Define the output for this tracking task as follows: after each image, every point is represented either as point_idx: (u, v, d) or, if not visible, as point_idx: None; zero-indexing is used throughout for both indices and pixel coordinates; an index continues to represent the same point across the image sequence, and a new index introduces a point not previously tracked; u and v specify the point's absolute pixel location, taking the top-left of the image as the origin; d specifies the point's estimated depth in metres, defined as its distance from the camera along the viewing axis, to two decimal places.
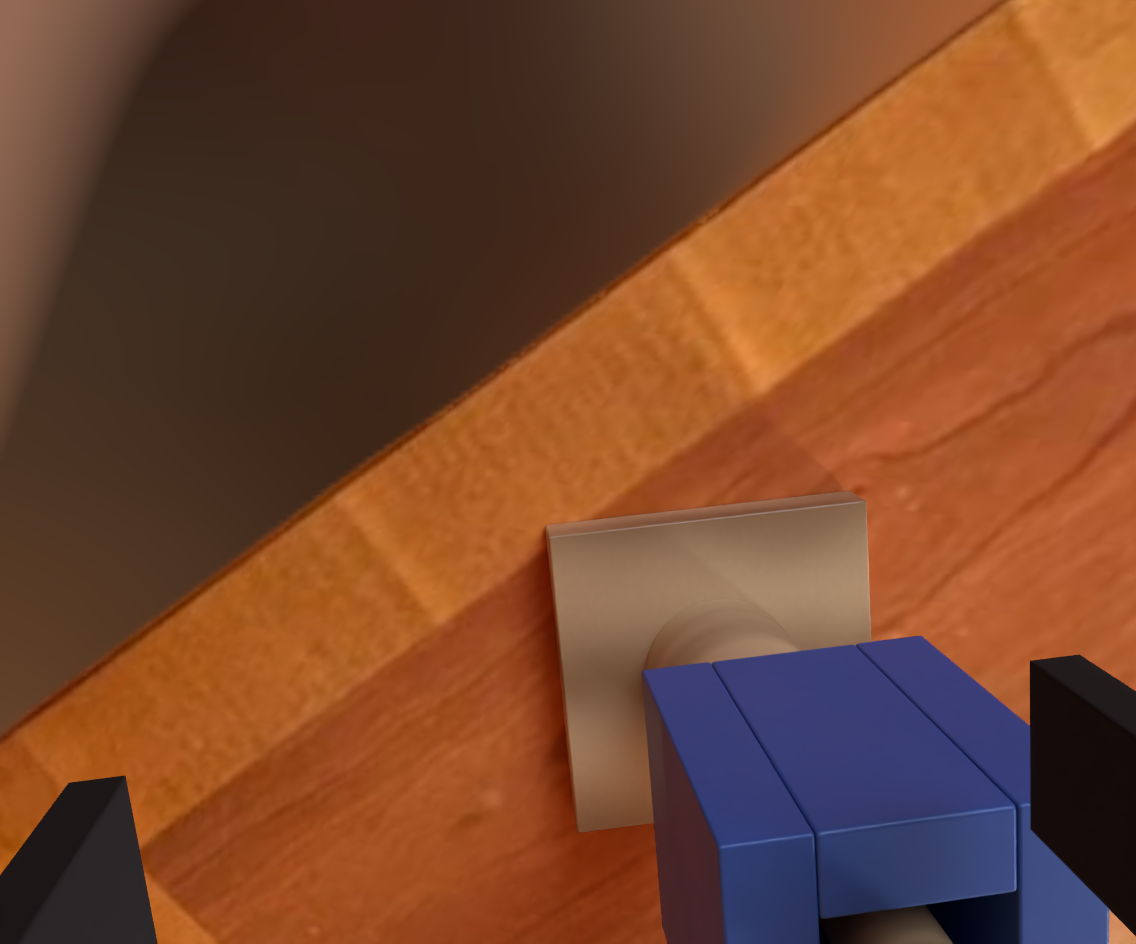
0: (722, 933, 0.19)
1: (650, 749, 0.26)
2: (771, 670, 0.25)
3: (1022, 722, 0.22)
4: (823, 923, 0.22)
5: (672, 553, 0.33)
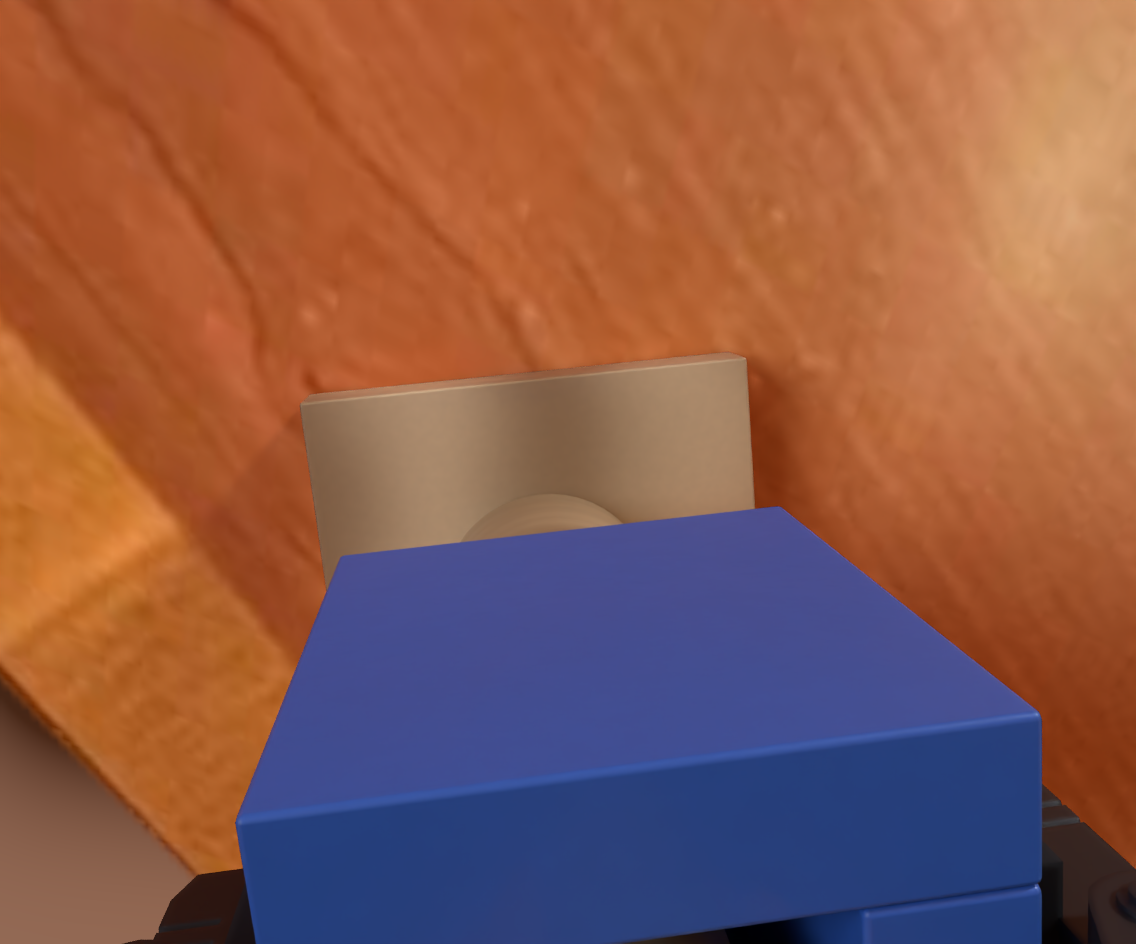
0: None
1: None
2: None
3: None
4: None
5: None
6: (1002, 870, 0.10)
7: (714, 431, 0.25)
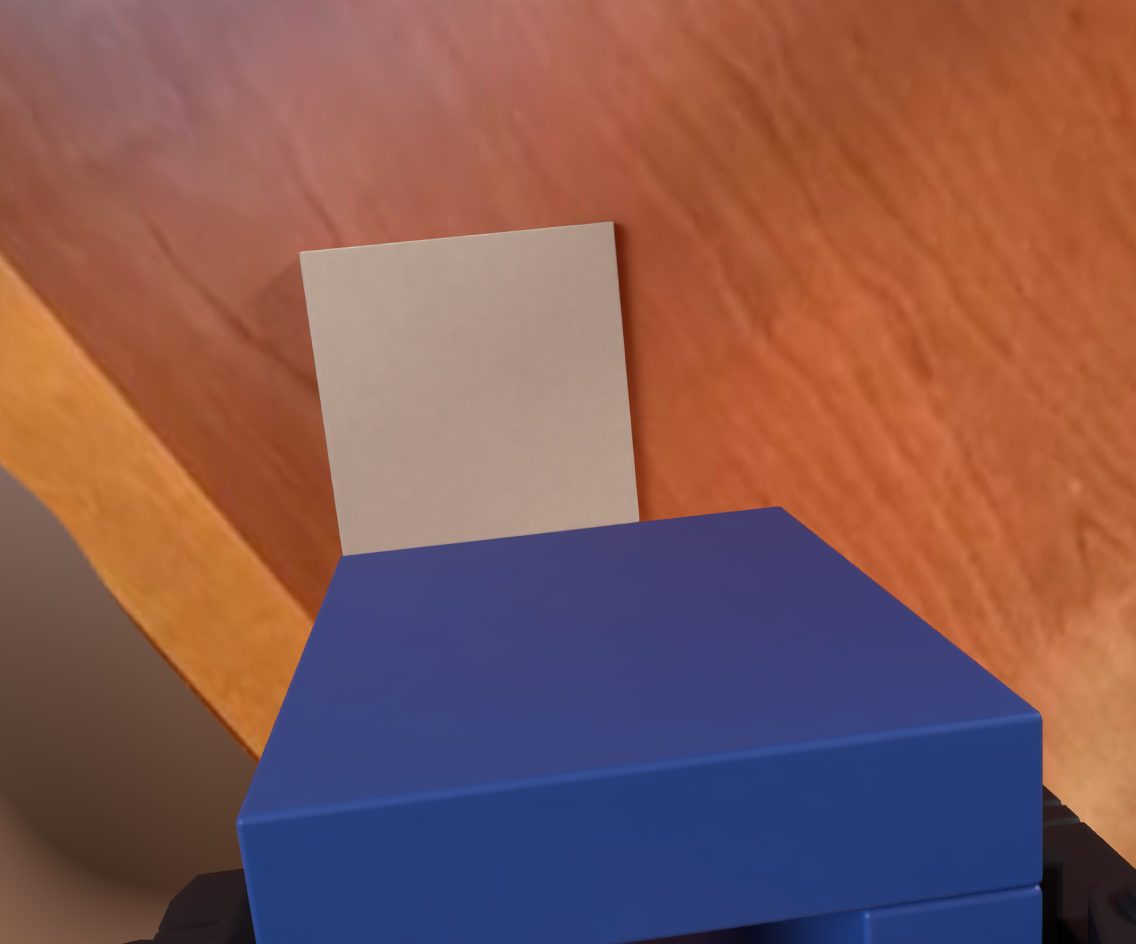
0: None
1: None
2: None
3: None
4: None
5: None
6: (1002, 870, 0.10)
7: None
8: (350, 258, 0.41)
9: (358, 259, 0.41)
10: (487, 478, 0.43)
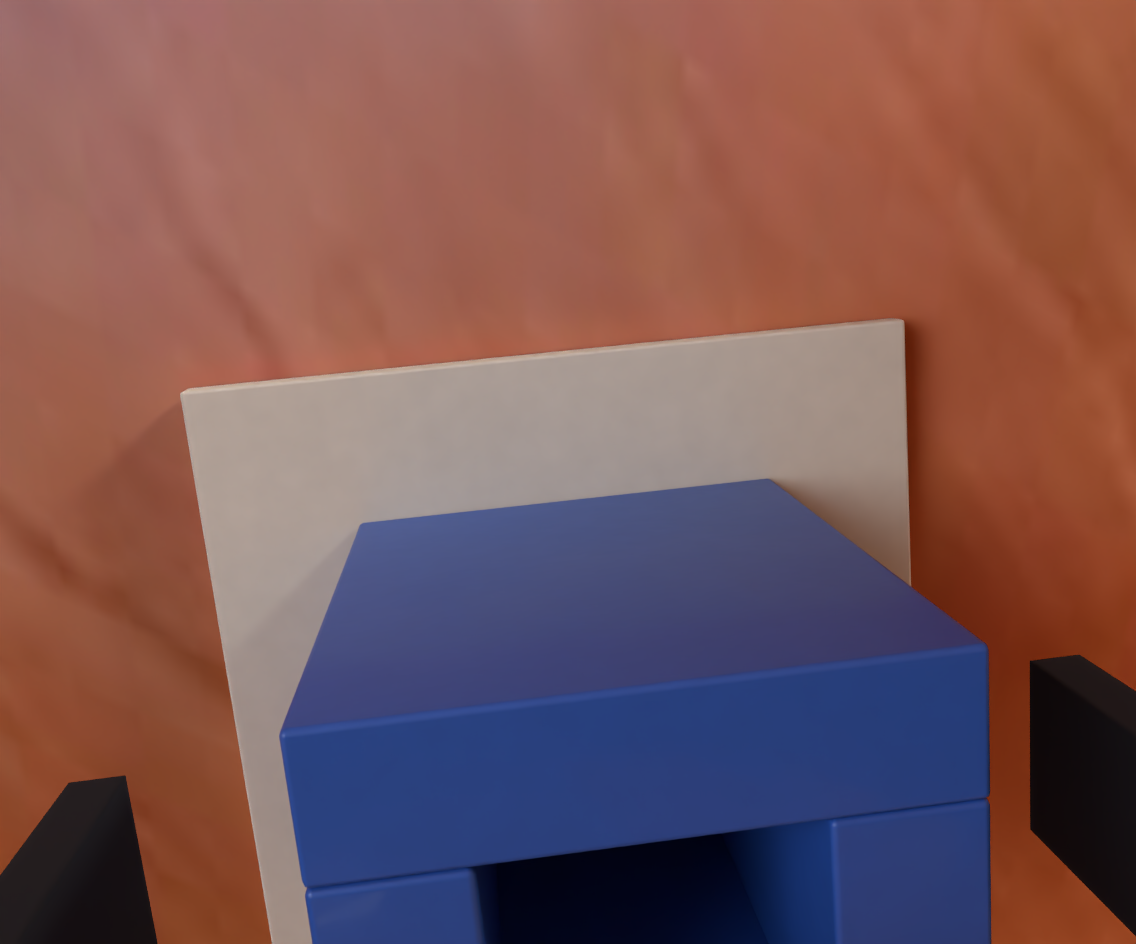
0: None
1: None
2: None
3: None
4: None
5: None
6: (954, 785, 0.11)
7: None
8: (301, 405, 0.18)
9: (319, 408, 0.18)
10: None
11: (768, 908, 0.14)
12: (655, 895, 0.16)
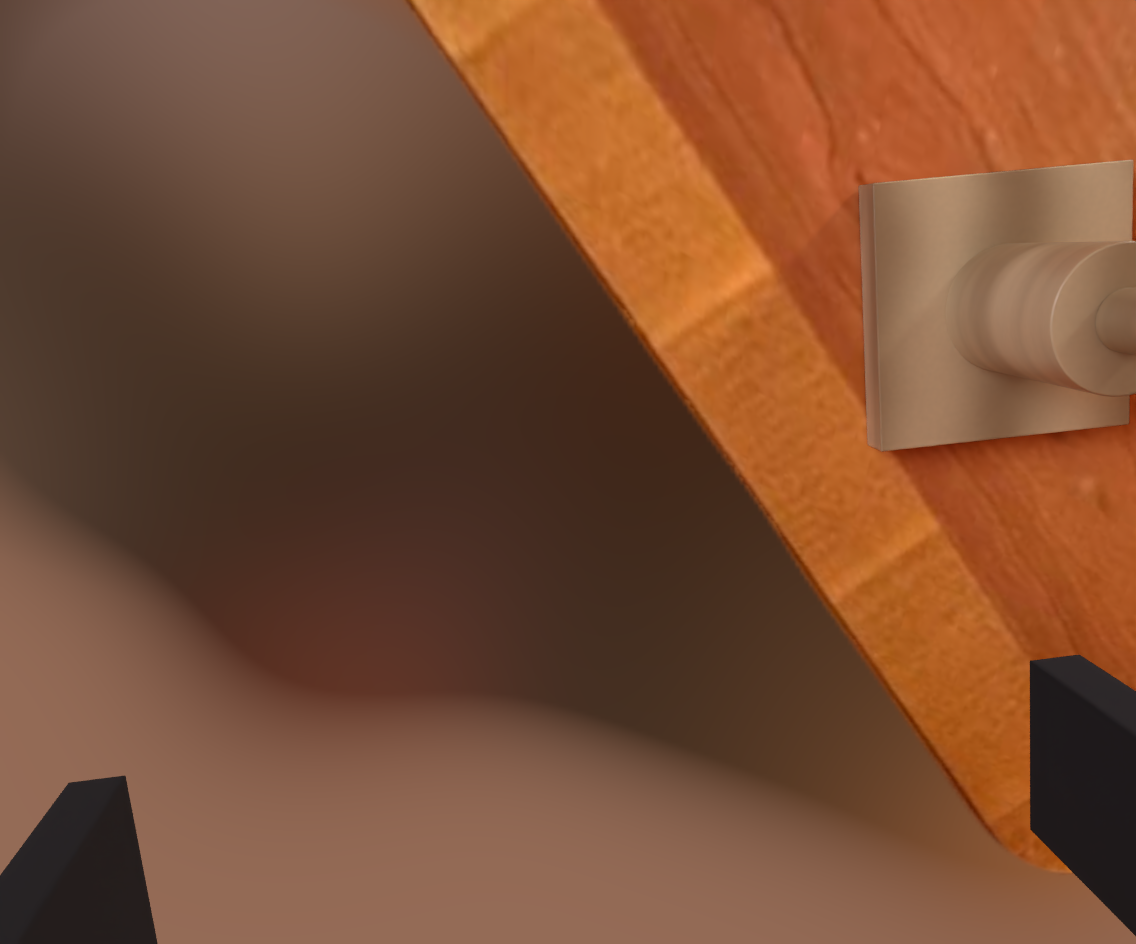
0: None
1: None
2: None
3: None
4: None
5: (903, 351, 0.41)
6: None
7: (1111, 206, 0.40)
8: None
9: None
10: None
11: None
12: None
